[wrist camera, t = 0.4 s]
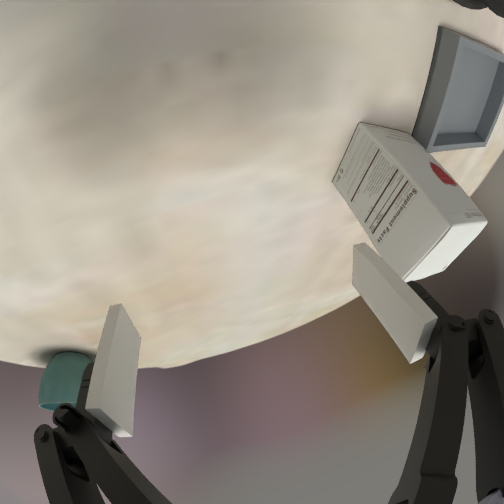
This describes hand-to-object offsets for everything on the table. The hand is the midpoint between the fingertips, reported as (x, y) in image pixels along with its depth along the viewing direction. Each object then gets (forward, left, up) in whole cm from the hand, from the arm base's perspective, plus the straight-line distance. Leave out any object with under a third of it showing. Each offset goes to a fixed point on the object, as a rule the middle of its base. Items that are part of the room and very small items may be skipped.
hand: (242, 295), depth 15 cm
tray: (-4, +34, -15) cm, 37 cm away
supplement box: (+6, +20, -15) cm, 26 cm away
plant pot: (+40, -40, -15) cm, 59 cm away
